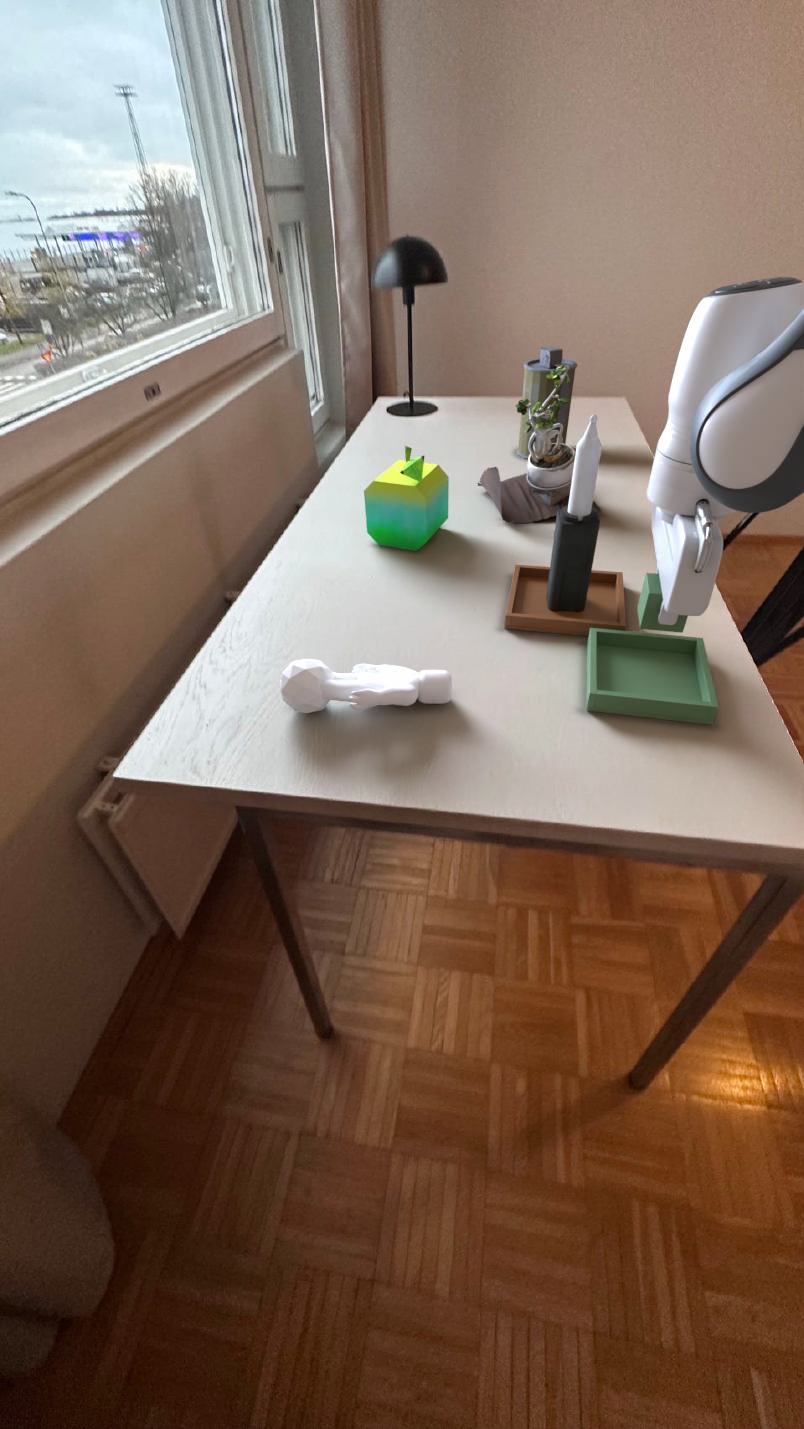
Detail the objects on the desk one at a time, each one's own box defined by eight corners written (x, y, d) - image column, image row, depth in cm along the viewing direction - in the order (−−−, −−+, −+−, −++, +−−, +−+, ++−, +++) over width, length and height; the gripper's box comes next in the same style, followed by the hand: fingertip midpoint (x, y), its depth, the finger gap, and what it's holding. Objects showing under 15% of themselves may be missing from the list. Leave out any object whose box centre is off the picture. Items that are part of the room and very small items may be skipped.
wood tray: (619, 584, 94) (622, 572, 92) (623, 639, 83) (626, 626, 82) (514, 576, 97) (515, 564, 95) (504, 628, 86) (505, 615, 85)
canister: (507, 450, 140) (515, 347, 126) (547, 441, 143) (558, 341, 130) (535, 465, 132) (546, 357, 119) (576, 456, 135) (591, 350, 122)
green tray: (697, 654, 80) (703, 637, 78) (712, 725, 70) (718, 707, 68) (587, 644, 83) (590, 627, 81) (586, 710, 73) (589, 693, 71)
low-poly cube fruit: (368, 542, 108) (360, 452, 98) (392, 519, 114) (387, 433, 104) (426, 552, 104) (425, 460, 94) (448, 528, 111) (449, 439, 101)
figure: (273, 731, 69) (455, 731, 70) (270, 673, 66) (458, 675, 67) (286, 695, 79) (444, 696, 80) (283, 644, 77) (446, 646, 78)
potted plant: (607, 527, 114) (608, 393, 94) (507, 562, 115) (487, 436, 96) (567, 470, 126) (560, 341, 107) (477, 502, 128) (454, 380, 108)
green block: (678, 611, 72) (689, 575, 69) (682, 633, 69) (694, 596, 66) (637, 607, 73) (646, 572, 70) (639, 629, 69) (648, 593, 66)
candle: (581, 593, 91) (613, 408, 75) (585, 612, 87) (620, 421, 71) (545, 593, 92) (569, 408, 75) (548, 611, 88) (573, 421, 71)
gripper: (754, 530, 52) (706, 665, 61) (718, 447, 67) (684, 565, 76) (673, 525, 53) (638, 658, 62) (655, 445, 68) (629, 561, 77)
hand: (663, 606), depth 70 cm, fingers closed on green block, 4 cm apart
